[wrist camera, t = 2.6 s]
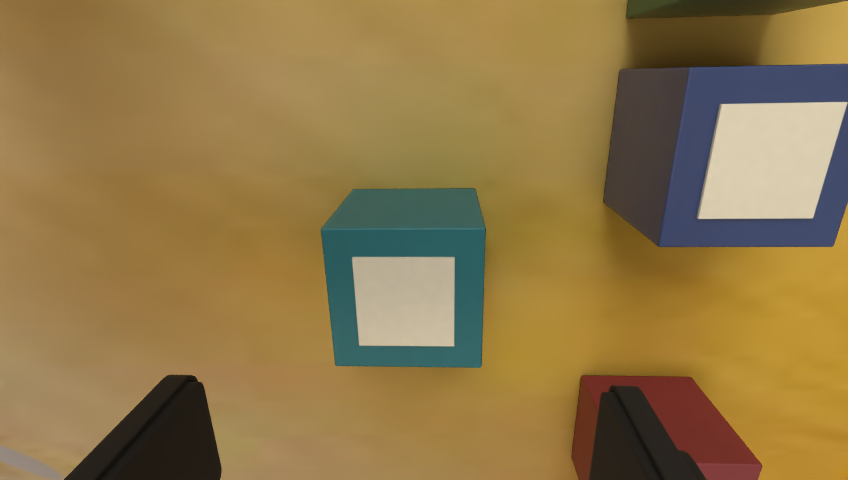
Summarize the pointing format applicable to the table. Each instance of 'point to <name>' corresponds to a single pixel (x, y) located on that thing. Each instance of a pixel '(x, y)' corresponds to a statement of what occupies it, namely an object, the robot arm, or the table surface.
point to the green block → (716, 7)
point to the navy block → (731, 155)
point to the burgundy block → (670, 425)
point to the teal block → (406, 278)
